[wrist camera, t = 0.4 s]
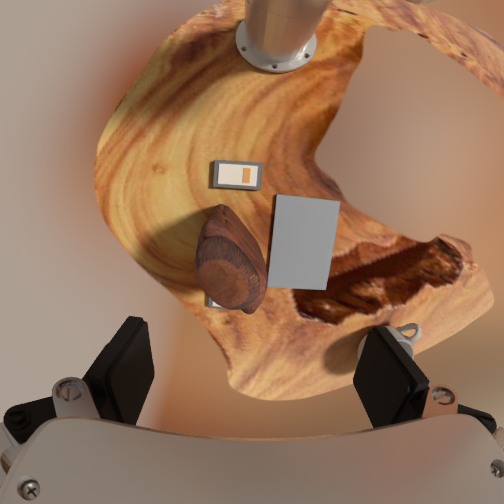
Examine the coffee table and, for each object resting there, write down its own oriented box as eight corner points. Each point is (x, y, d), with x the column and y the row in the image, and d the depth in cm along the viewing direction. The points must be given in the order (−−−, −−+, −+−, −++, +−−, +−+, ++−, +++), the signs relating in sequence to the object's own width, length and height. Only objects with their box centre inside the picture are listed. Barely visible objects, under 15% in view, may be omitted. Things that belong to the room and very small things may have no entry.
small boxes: (215, 160, 39) (214, 159, 38) (262, 163, 39) (263, 163, 38) (209, 304, 47) (208, 308, 45) (249, 307, 47) (249, 311, 46)
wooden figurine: (194, 220, 42) (160, 260, 25) (227, 196, 41) (212, 220, 24) (239, 278, 45) (235, 345, 28) (271, 256, 44) (286, 315, 27)
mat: (276, 194, 41) (276, 194, 40) (338, 201, 41) (340, 201, 41) (267, 285, 46) (267, 286, 45) (324, 288, 46) (325, 289, 45)
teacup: (363, 368, 52) (375, 392, 45) (342, 340, 50) (355, 365, 42) (414, 331, 50) (432, 352, 42) (400, 298, 47) (420, 319, 40)
